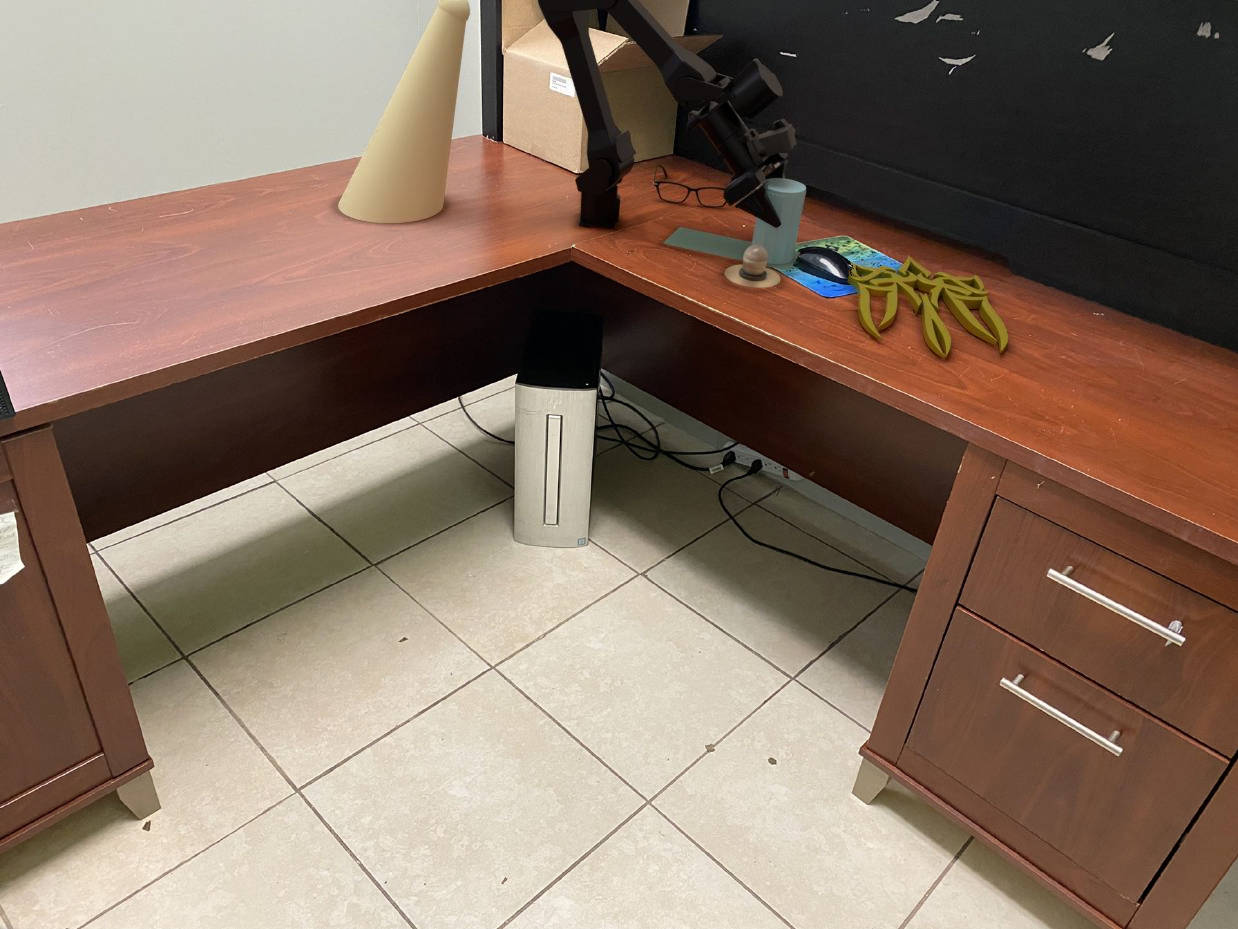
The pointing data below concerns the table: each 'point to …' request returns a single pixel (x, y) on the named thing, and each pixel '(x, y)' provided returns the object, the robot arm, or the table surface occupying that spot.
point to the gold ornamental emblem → (927, 302)
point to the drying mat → (716, 245)
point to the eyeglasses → (685, 187)
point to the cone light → (414, 130)
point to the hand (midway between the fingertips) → (785, 217)
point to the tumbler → (789, 210)
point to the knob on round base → (753, 270)
